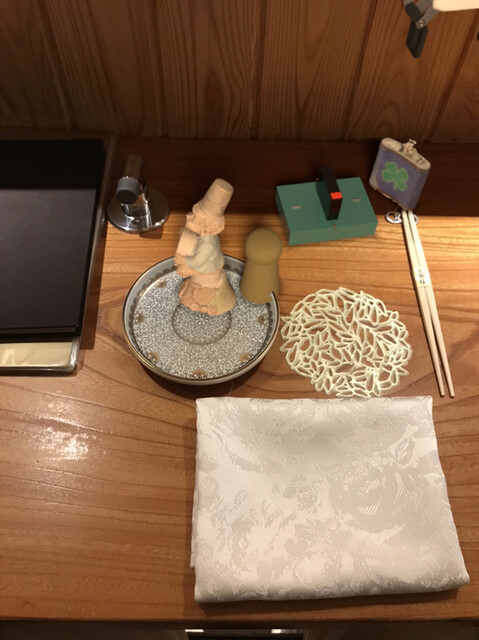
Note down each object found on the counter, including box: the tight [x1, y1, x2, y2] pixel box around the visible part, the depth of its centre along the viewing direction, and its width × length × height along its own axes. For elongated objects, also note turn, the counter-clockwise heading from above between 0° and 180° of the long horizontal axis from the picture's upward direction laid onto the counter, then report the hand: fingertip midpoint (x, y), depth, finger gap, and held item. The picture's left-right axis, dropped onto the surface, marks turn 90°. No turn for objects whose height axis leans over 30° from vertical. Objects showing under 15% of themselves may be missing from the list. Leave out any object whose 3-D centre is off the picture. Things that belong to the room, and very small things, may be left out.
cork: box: [238, 227, 284, 305], centre depth 79 cm, size 6×6×11 cm
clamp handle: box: [316, 165, 343, 221], centre depth 87 cm, size 7×2×5 cm, turn 10°
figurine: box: [172, 178, 237, 316], centre depth 74 cm, size 9×8×20 cm
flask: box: [368, 137, 432, 211], centre depth 90 cm, size 9×3×11 cm, turn 44°
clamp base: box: [274, 176, 379, 247], centre depth 90 cm, size 14×11×3 cm
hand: (448, 48), depth 73 cm, fingers open, 9 cm apart
